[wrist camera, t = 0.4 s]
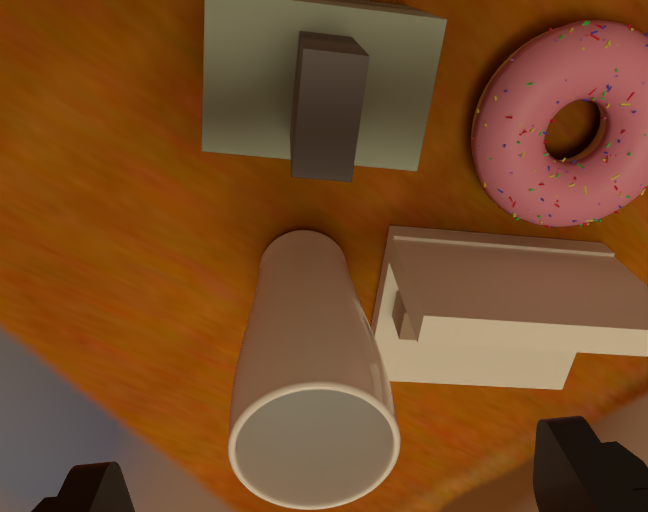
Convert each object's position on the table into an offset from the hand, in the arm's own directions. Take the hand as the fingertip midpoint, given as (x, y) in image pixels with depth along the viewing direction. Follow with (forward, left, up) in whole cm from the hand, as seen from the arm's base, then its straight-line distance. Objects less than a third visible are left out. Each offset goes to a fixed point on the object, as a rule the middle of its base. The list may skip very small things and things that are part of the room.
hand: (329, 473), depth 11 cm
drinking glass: (+8, +1, -23) cm, 24 cm away
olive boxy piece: (-4, 0, -23) cm, 23 cm away
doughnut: (-2, +14, -23) cm, 28 cm away
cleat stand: (+9, +13, -23) cm, 28 cm away
